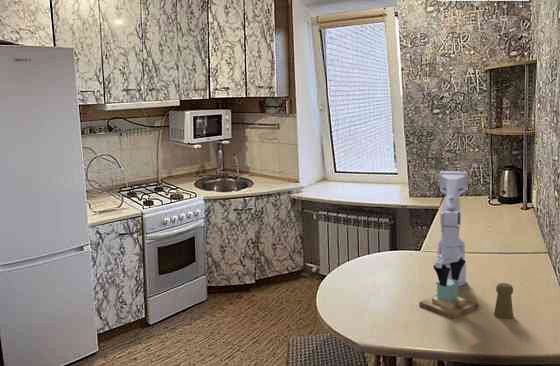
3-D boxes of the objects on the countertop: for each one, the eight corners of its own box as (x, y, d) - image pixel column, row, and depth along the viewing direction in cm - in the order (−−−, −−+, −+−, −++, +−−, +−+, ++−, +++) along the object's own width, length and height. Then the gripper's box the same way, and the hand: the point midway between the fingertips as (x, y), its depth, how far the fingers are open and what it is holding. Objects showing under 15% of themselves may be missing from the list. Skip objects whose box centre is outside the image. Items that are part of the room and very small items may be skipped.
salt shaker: (501, 320, 177) (503, 288, 175) (489, 313, 183) (491, 282, 181) (517, 317, 179) (518, 286, 177) (505, 310, 185) (506, 280, 183)
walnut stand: (444, 295, 199) (445, 287, 198) (478, 307, 188) (478, 299, 187) (419, 305, 191) (419, 297, 191) (452, 318, 180) (452, 310, 179)
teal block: (445, 294, 193) (445, 278, 192) (457, 298, 189) (458, 281, 188) (437, 298, 190) (437, 282, 188) (449, 302, 186) (450, 285, 185)
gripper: (451, 238, 193) (450, 274, 195) (427, 247, 184) (427, 285, 186) (469, 242, 188) (468, 279, 190) (446, 251, 178) (445, 290, 181)
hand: (449, 282), depth 188 cm, fingers open, 7 cm apart
